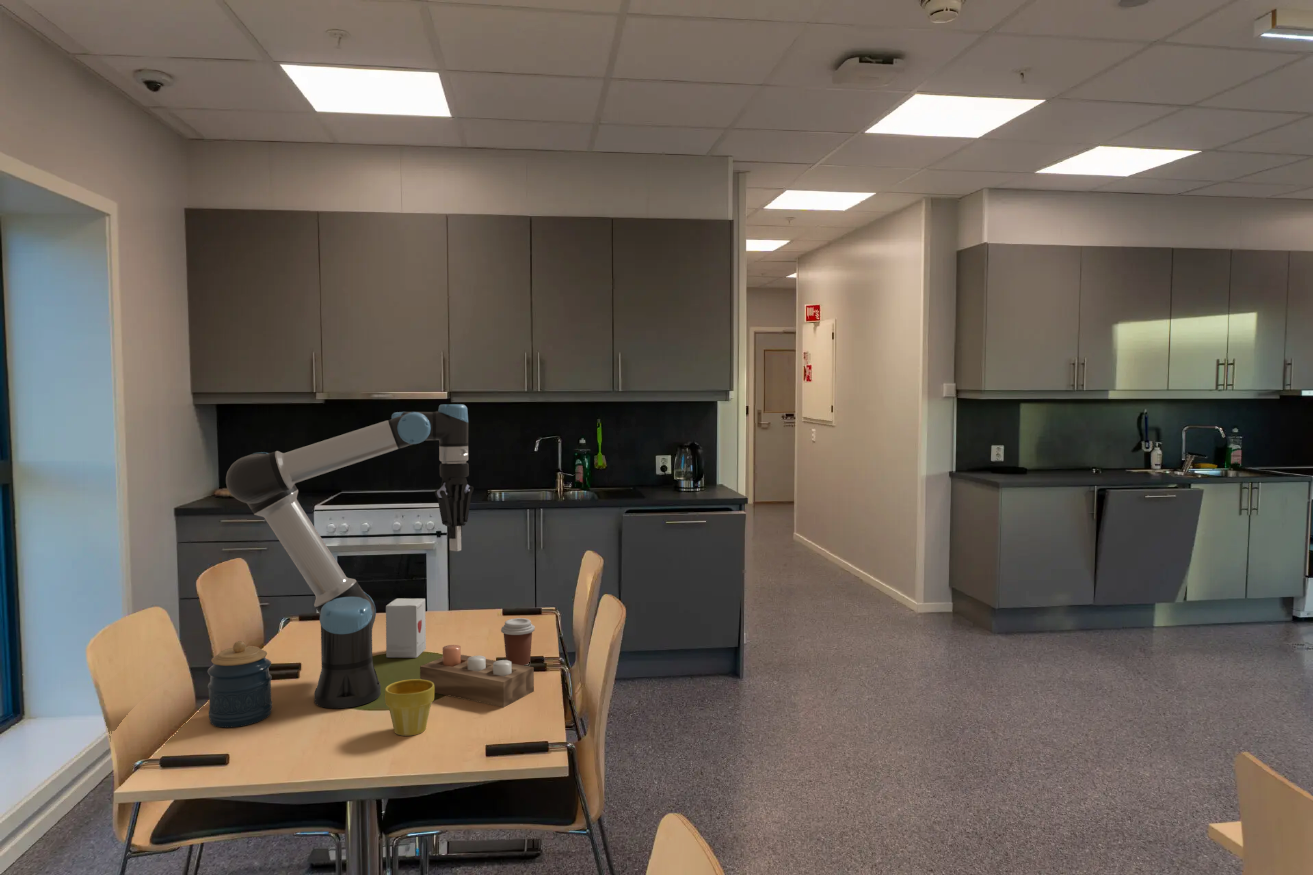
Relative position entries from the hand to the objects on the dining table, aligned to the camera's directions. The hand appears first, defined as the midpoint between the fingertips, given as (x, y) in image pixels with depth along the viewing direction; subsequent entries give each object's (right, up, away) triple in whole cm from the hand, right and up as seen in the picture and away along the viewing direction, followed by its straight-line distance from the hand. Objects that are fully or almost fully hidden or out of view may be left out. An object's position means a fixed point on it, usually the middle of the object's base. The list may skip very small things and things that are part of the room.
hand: (455, 550), depth 218 cm
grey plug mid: (+9, -32, -14) cm, 36 cm away
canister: (-41, -34, -31) cm, 62 cm away
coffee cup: (+16, -32, +6) cm, 36 cm away
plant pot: (0, -34, -39) cm, 52 cm away
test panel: (+9, -33, -14) cm, 37 cm away
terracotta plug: (+2, -30, -11) cm, 32 cm away
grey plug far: (+16, -32, -18) cm, 40 cm away
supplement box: (-18, -32, +16) cm, 40 cm away
